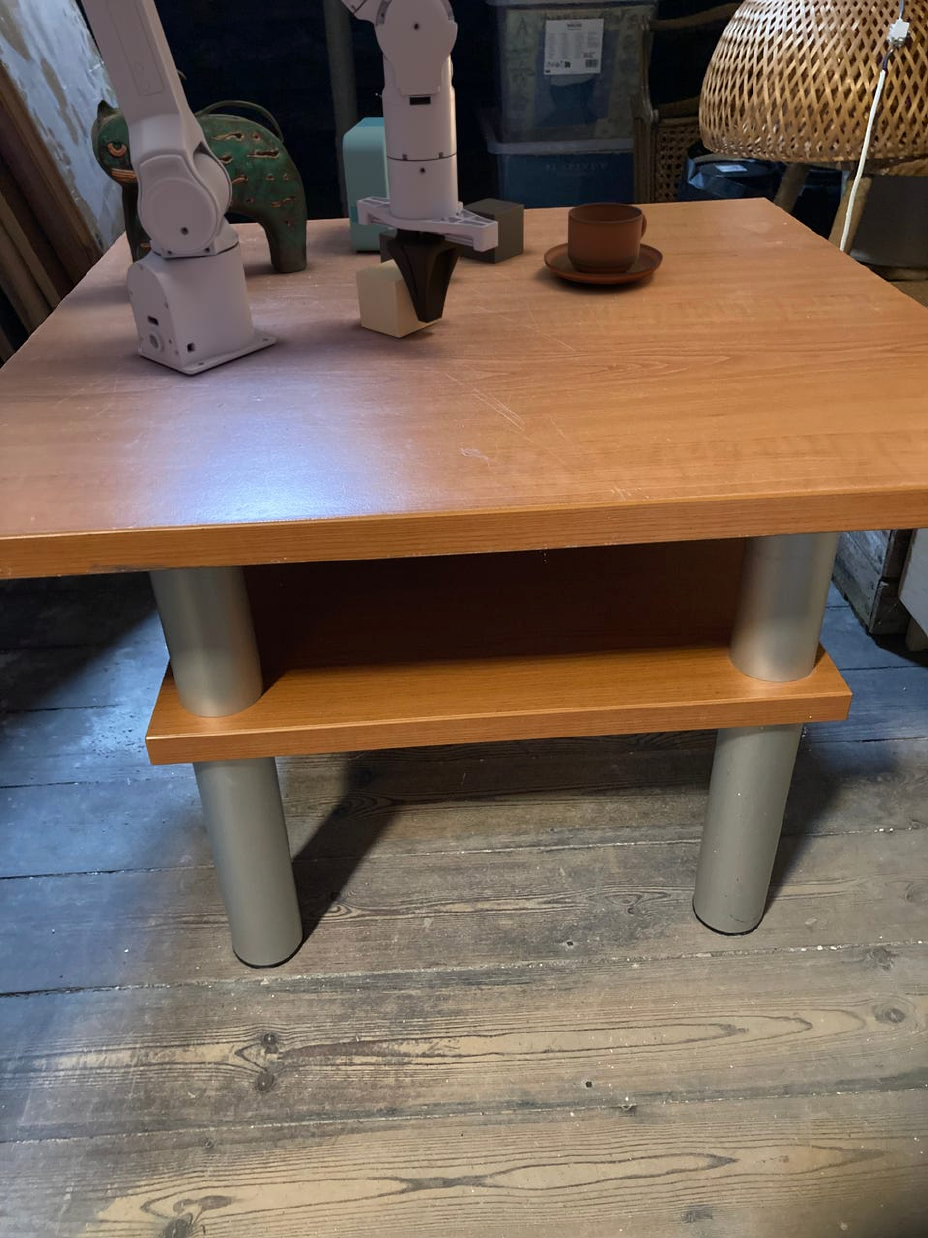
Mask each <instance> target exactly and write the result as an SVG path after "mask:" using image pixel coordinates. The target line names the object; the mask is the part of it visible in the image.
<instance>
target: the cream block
mask: <svg viewBox="0 0 928 1238" xmlns="http://www.w3.org/2000/svg"><path fill="white" fill-rule="evenodd" d="M355 278H356V287H357V296H358V297H357V298H358V306H359V307H358V308H359V317H360V326H361V327H362V328H366V329H369V330H372V331H375V332H379V333H381V334H385V335H388V336H391V337H394V338H399V339H401V338H403V337H405V336H407V335H409V334H412V333H414V332H417V331H419V330H421V329H424V328H426V327H428V326H432V325H434V324H436V323H437V320H435V321H432V322H430V323H424V322H421V321H418V319H417V316H416V313H415V309H414V306H413V303H412V300H411V297H410V294H409V291H408V288H407V285H406V283H405V280H404V278H403V276H402V274H401V272H400V270H399V268H398V266H397V264H396V263H395V261H394V260H393V259H392V260H389V261H386V262H384V263H381V262H380V263H378V264H375V265H373V266H369V267H367V268H364V269H360V270H358V271H356V272H355Z"/></svg>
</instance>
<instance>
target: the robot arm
mask: <svg viewBox="0 0 928 1238" xmlns="http://www.w3.org/2000/svg"><path fill="white" fill-rule="evenodd" d="M80 1H81V4H82V7H83V9H84V13H85V15H86V18H87V21H88V23H89V26H90V28H91V32H92V34H93V37H94V40H95V41H96V42H95V43H96V45H97V47H98V49H99V50H98V51H99V53H100V55H101V58H102V61H103V63H104V66H105V68H106V72H107V74H108V77H109V81H110V82H111V85H112V88H113V91H114V93H115V96H116V98H117V99H116V100H117V101H118V104H119V107H121V109H122V112H123V115H124V117H125V120H126V123H127V126H128V131H129V142H130V155H131V163H132V166H133V169H134V171H135V174H136V177H137V180H138V186H139V194H138V203H137V206H138V214H139V219H140V221H141V224H142V226H143V228H144V229H145V231H146V233H147V234H148V235H149V237H150V238H151V239H152V240H150V245H151V248H152V250H151V251H150V252H149V254H148V255H147V256H146V257H144V258H143V259H141V260H139V261H136V262H134V263H133V262H132V263H131V264H130V265H129V267H128V268H127V272H126V287H127V293H128V296H129V301H130V305H131V310H132V314H133V317H134V321H135V326H136V330H137V335H138V338H139V343H140V347H139V348H138V349H137V353H138V355H139V356H142V357H145V358H147V359H150V360H152V361H155V362H157V363H159V364H162V365H164V366H166V367H169V368H171V369H174V370H177V371H179V372H181V373H184V374H186V375H195V374H198V373H201V372H202V371H205V370H208V369H211V368H213V367H217V366H219V365H222V364H224V363H226V362H229V361H232V360H235V359H237V358H240V357H242V356H245V355H248V354H250V353H253V352H256V351H259V350H260V349H263V348H266V347H268V346H271V345H274V344H275V343H276V342H277V340H276V337H275V336H273V335H271V334H268V333H265V332H261V331H259V330H256V329H254V324H253V318H252V312H251V305H250V299H249V292H248V287H247V281H246V275H245V270H244V268H245V267H244V264H243V257H242V256H243V255H242V250H241V245H240V239H239V233H238V232H237V231H236V229H235V228H233V227H232V226H231V224H230V223H229V221H228V219H227V218H226V217H225V214H226V213H227V212H226V211H227V209H228V208H229V205H230V202H231V198H232V185H231V180H230V177H229V174H228V172H227V170H226V169H225V167H224V166H223V164H222V163H221V162H220V161H219V160H218V159H217V157H216V156H215V155H214V154H213V153H212V151H211V150H210V148H209V147H208V145H207V142H206V140H205V137H204V134H203V131H202V128H201V126H200V125H199V123H198V121H197V120H196V118H195V117H194V115H193V114H194V113H193V112H192V109H191V108H190V106H189V104H188V101H187V98H186V95H185V94H186V93H185V92H184V88H183V85H182V82H181V78H180V76H179V75H178V73H177V70H178V69H177V68H176V65H175V61H174V58H173V55H172V53H171V49H170V47H169V43H168V40H167V38H166V35H165V34H166V33H165V31H164V28H163V25H162V23H161V19H160V16H159V13H158V10H157V8H156V4H155V1H154V0H80ZM340 1H341V2H342V3H343V4H344V5H345V6H346V8H348V10H349V11H350V12H351V13H352V14H353V16H355V17H356V19H358V20H365V21H369V22H371V23H372V24H373V26H374V31H375V36H376V39H377V40H376V41H377V42H378V46H379V48H380V50H381V51H382V53H383V54H382V61H383V75H384V87H383V89H382V92H381V101H382V113H383V114H382V115H383V118H384V129H385V143H386V159H387V173H388V186H389V199H387V198H379V197H369V198H366V199H362V200H359V201H357V208H358V219H359V224H363V225H370V224H376V225H380V226H385V227H389V228H394V229H397V234H396V238H394V239H391V240H388V241H387V242H386V245H387V251H388V252H389V254H390V255H391V256H392V258H393V260H394V261H395V263H396V264H397V266H398V268H399V270H400V272H401V274H402V276H403V278H404V280H405V283H406V285H407V288H408V291H409V294H410V297H411V300H412V303H413V306H414V309H415V313H416V316H417V319H418V321H421V322H424V323H430V322H432V321H435V320H436V321H437V320H440V319H442V318H443V314H444V308H445V303H446V298H447V293H448V290H449V285H450V282H451V280H450V279H451V278H452V275H453V272H454V271H455V269H456V268H455V267H456V264H457V263H458V260H459V258H460V257H461V255H460V254H461V253H462V251H463V249H464V247H465V245H469V246H474V250H477V251H482V252H483V251H486V250H488V249H491V248H494V247H496V246H498V222H497V221H492V220H489V219H485V218H483V217H480V216H478V215H476V214H474V213H472V212H469V211H467V210H465V209H463V206H464V203H463V202H462V201H459V190H458V160H457V159H458V158H457V151H458V150H457V126H456V125H457V123H456V122H457V121H456V120H457V119H456V93H455V88H454V86H453V85H452V79H453V76H454V67H453V61H452V59H451V53H452V50H453V48H454V46H455V43H456V40H457V34H458V23H457V22H455V16H454V12H453V8H452V5H451V3H450V1H449V0H340ZM176 69H177V70H176Z"/></svg>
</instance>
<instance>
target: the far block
mask: <svg viewBox="0 0 928 1238" xmlns="http://www.w3.org/2000/svg"><path fill="white" fill-rule="evenodd" d="M463 209H465V210H467V211H469V212H472V213H474V214H476V215H478V216H480V217H483V218H485V219H489V220H492V221H497V222H498V246H496V247H494V248H491V249H488V250H486V251H483V252H482V251H477V250H474V246H469V245H465V247H464V249H463V251H462V253H461V254H460V257H465V258H469V259H474V260H478V261H483V262H486V263H491V264H497V263H499V262H502V261H505V260H507V259H510V258H513V257H515V256H517V255H520V254H523V253H524V246H525V245H524V239H525V238H524V237H525V235H524V233H525V231H524V230H525V227H524V225H525V215H524V214H525V205H524V204H522V203H516V202H513V201H507V200H501V199H495V198H490V197H488V198H485V199H482V200H479V201H476V202H472V203H469V204H466V205H463Z"/></svg>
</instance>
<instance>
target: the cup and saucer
mask: <svg viewBox="0 0 928 1238" xmlns="http://www.w3.org/2000/svg"><path fill="white" fill-rule="evenodd" d="M567 214H568V215H567V219H568V220H567V242H564V243H561V244H558V245H555V246H552V247H551V248H549V249H548V250H546V251H545V252H544V254H543V261H544V264H545V266H546V267H547V268H548V269H549V270H550V271H551V272H552V273H553V274H555V275H557V276H559V277H560V278H563V279H566V280H569V281H572V282H576V283H582V284H590V285H616V284H625V283H630V282H634V281H638V280H641V279H643V278H646V277H648V276H650V275H651V274H653V273H655V271H657V269H659V268H660V267H661V265H662V263H663V259H664V255H663V254H662V252H661V251H660V250H659V249H657V248H655V247H653V246H651V245H648V244H645V243H641V240H642V238H643V237H644V236H645V234H646V231H647V226H648V220H647V217H646V215H645V214H644V212H643V210H642V209H641V208H639V207H637V206H634V205H630V204H625V203H621V202H620V203H618V202H593V203H586V204H580V205H576V206H574V207H572V208H570V209H569V210H568V213H567Z"/></svg>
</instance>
